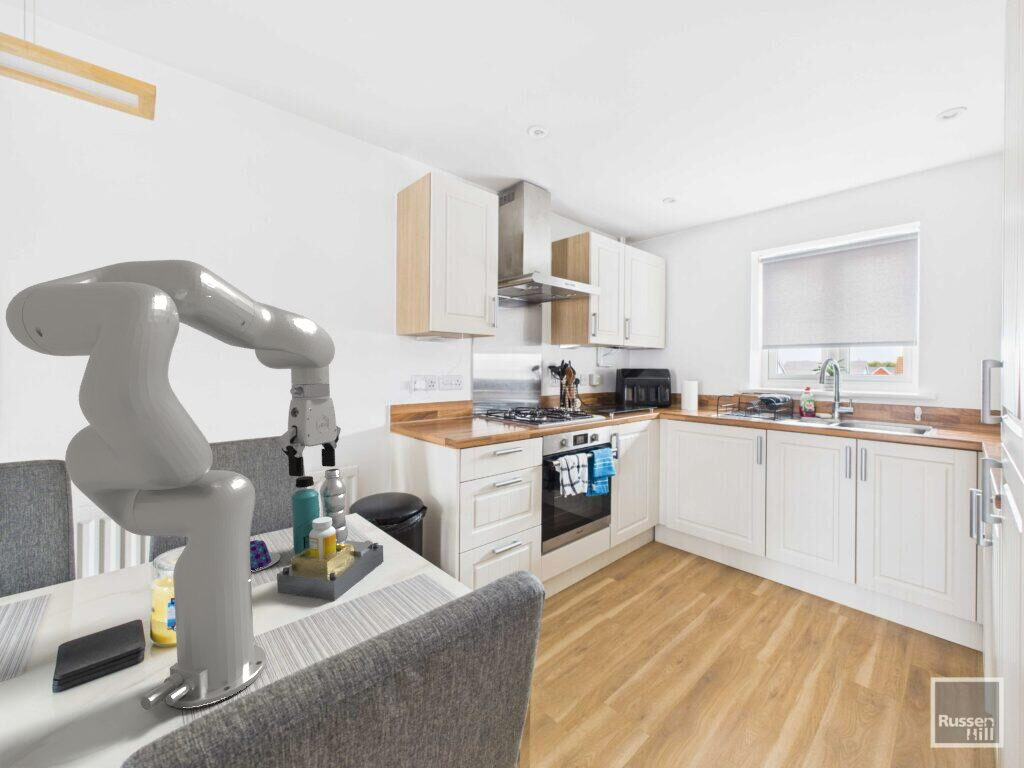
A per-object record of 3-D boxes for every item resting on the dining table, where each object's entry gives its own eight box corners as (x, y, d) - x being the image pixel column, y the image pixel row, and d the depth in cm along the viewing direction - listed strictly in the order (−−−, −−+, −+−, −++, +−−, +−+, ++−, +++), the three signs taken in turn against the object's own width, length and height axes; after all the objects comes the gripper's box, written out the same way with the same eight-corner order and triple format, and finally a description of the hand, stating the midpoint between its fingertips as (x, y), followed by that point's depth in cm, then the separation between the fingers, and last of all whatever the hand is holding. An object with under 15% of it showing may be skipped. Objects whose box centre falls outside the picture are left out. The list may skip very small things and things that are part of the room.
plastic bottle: (353, 541, 117) (351, 468, 116) (331, 550, 111) (328, 474, 111) (338, 537, 120) (336, 466, 120) (316, 545, 115) (313, 471, 114)
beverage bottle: (301, 563, 104) (298, 481, 103) (288, 557, 108) (285, 478, 107) (326, 554, 109) (324, 476, 108) (313, 548, 113) (310, 472, 112)
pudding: (243, 555, 110) (242, 534, 110) (289, 554, 110) (289, 534, 110) (210, 577, 98) (209, 555, 98) (262, 577, 98) (261, 554, 98)
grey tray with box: (334, 600, 87) (333, 568, 86) (277, 592, 90) (276, 562, 90) (390, 556, 107) (389, 530, 107) (341, 551, 111) (340, 526, 110)
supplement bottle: (307, 569, 92) (306, 525, 92) (312, 559, 97) (311, 517, 97) (334, 566, 93) (333, 522, 93) (338, 555, 98) (336, 514, 98)
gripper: (294, 394, 84) (297, 481, 84) (351, 390, 101) (353, 463, 101) (264, 394, 86) (266, 479, 87) (324, 391, 103) (326, 462, 103)
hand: (313, 470), depth 94 cm, fingers open, 9 cm apart
